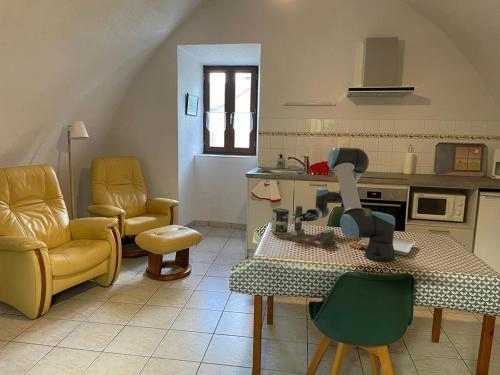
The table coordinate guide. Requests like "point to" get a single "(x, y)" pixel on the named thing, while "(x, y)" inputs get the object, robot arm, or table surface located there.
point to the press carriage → (297, 228)
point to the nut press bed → (313, 238)
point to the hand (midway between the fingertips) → (293, 219)
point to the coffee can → (280, 221)
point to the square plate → (395, 245)
